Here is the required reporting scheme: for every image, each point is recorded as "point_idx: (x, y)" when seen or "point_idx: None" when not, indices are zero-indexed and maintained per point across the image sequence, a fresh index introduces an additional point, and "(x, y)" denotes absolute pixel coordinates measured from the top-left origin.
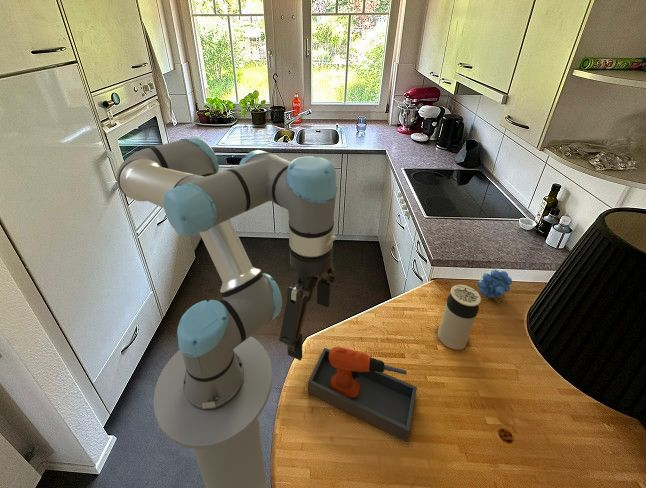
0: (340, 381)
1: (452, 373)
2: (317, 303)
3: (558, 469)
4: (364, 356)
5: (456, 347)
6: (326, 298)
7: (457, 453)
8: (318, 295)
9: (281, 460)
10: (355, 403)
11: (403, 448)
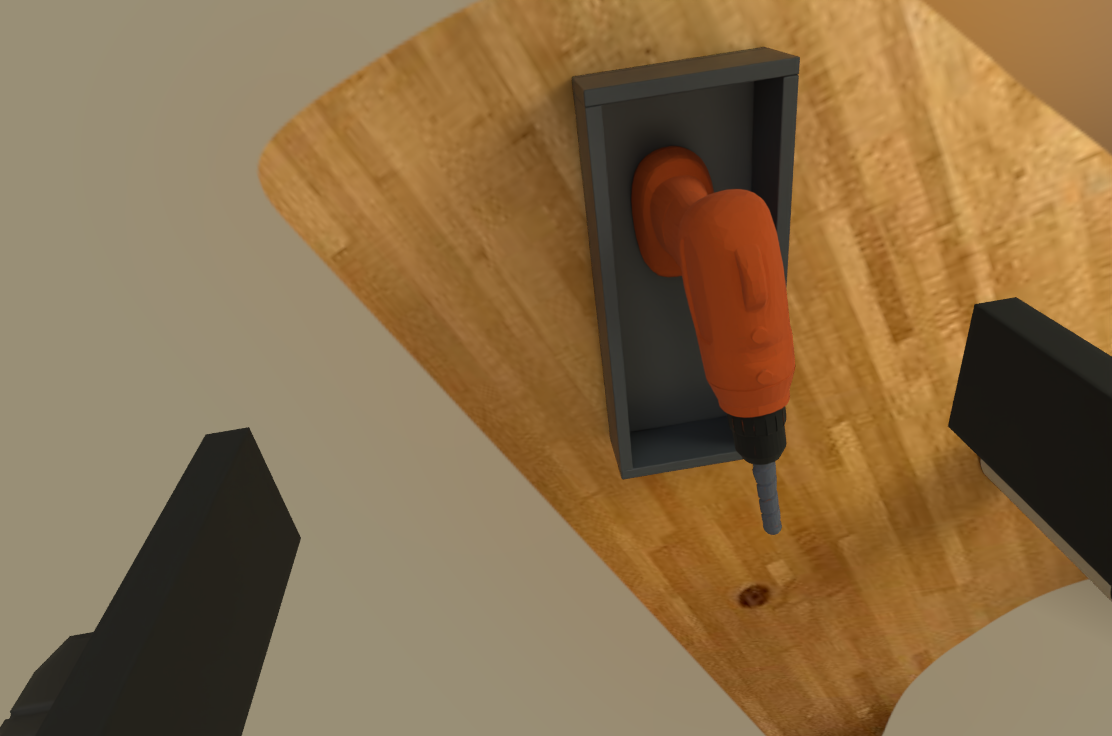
0: (663, 225)
1: (884, 475)
2: (974, 316)
3: (728, 667)
4: (769, 392)
5: (988, 472)
6: (1048, 495)
7: (654, 535)
8: (1082, 402)
9: (292, 138)
10: (612, 314)
11: (589, 438)
